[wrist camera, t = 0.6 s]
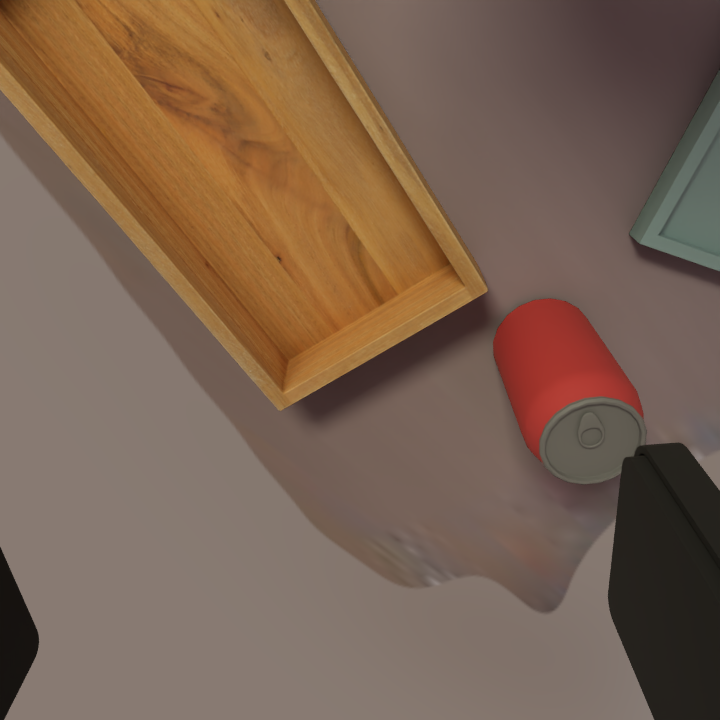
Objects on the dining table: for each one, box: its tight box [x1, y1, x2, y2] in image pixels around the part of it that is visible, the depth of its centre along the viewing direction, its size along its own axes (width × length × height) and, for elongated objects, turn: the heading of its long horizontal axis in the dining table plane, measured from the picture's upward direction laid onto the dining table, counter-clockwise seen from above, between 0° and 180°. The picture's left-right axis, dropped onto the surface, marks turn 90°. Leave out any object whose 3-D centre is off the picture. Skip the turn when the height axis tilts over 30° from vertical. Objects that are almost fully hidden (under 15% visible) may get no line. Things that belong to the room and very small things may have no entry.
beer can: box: [493, 299, 647, 485], centre depth 40 cm, size 7×7×12 cm
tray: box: [0, 0, 488, 411], centre depth 37 cm, size 31×15×6 cm, turn 33°
